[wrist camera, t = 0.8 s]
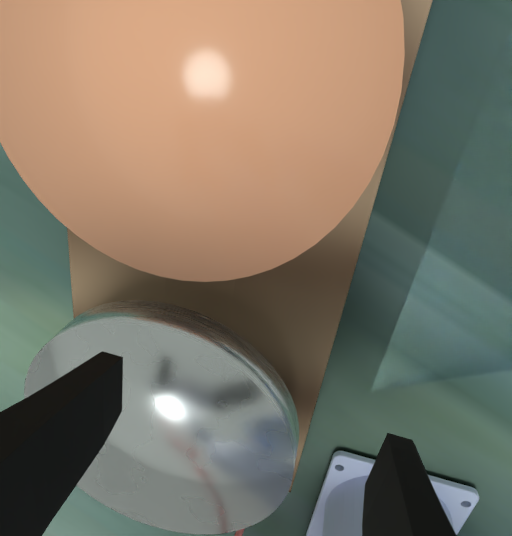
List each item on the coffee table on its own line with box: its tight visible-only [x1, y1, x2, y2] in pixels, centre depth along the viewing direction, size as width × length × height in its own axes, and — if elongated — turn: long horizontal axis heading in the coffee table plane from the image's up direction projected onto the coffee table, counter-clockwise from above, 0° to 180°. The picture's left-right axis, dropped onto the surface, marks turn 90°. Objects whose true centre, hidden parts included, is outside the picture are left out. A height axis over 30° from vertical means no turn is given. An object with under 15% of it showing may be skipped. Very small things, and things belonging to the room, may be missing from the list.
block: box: [67, 0, 432, 492], centre depth 19 cm, size 26×12×3 cm, turn 172°
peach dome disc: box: [0, 0, 405, 282], centre depth 13 cm, size 11×11×4 cm
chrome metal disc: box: [24, 300, 299, 534], centre depth 19 cm, size 11×11×4 cm
